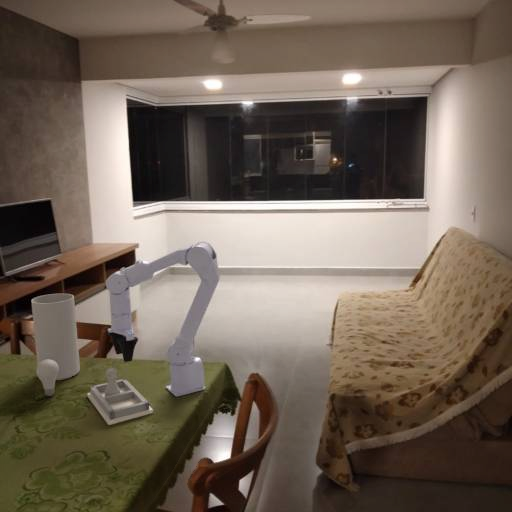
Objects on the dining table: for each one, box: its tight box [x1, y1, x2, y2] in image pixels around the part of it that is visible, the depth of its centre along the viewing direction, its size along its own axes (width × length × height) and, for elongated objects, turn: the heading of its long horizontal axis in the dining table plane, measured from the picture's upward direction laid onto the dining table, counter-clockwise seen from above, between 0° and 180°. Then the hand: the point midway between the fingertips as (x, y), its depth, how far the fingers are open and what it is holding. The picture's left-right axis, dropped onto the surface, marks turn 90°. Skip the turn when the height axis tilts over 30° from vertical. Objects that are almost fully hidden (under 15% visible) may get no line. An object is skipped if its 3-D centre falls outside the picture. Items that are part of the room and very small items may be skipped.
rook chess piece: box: [105, 366, 121, 396], centre depth 150 cm, size 4×4×8 cm
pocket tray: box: [87, 378, 154, 426], centre depth 147 cm, size 12×21×3 cm, turn 32°
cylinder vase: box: [31, 293, 81, 382], centre depth 168 cm, size 12×12×25 cm
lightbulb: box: [36, 359, 59, 397], centre depth 153 cm, size 6×6×11 cm
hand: (124, 357), depth 156 cm, fingers open, 7 cm apart
